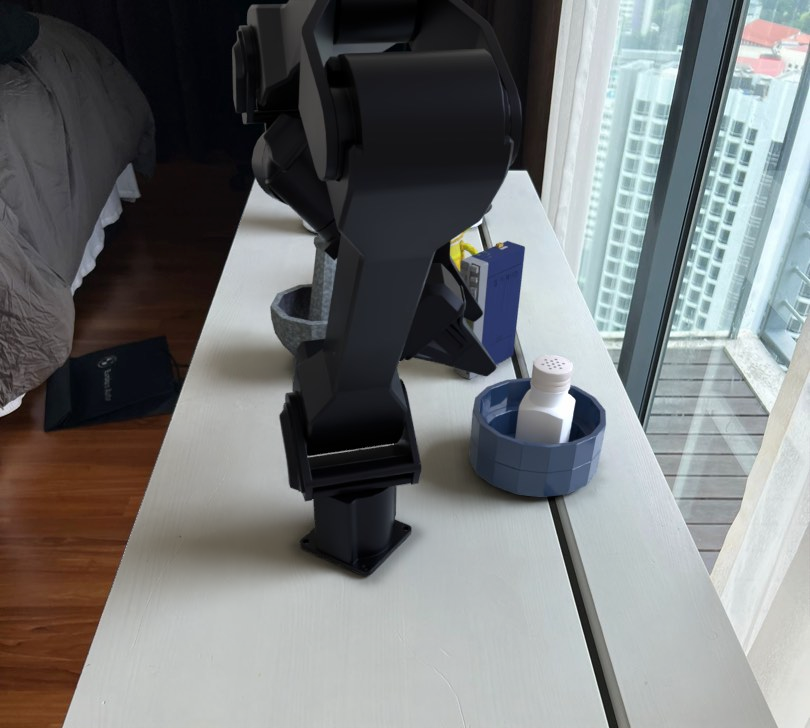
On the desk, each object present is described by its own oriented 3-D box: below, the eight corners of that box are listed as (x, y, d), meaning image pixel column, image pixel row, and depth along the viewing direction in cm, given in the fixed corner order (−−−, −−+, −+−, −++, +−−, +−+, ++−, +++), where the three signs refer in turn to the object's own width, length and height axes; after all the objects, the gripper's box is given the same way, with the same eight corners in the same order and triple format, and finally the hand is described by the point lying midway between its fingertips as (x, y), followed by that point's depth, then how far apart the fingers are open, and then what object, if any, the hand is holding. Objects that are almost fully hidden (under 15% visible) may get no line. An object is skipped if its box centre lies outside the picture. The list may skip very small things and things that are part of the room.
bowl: (564, 518, 68) (574, 462, 64) (446, 475, 72) (449, 420, 69) (613, 454, 75) (625, 400, 72) (503, 418, 80) (509, 366, 76)
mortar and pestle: (361, 393, 83) (360, 274, 75) (268, 386, 83) (256, 268, 76) (376, 341, 91) (376, 230, 84) (291, 335, 92) (283, 225, 84)
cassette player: (496, 348, 90) (507, 237, 83) (514, 355, 89) (526, 243, 82) (452, 372, 86) (458, 257, 79) (469, 380, 85) (478, 264, 77)
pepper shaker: (523, 445, 75) (536, 348, 69) (567, 456, 74) (583, 358, 68) (509, 469, 72) (521, 369, 66) (555, 480, 71) (571, 380, 65)
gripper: (434, 153, 49) (592, 330, 56) (418, 80, 63) (546, 229, 70) (305, 283, 53) (467, 430, 61) (318, 188, 68) (447, 316, 75)
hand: (485, 343), depth 67 cm, fingers open, 9 cm apart
